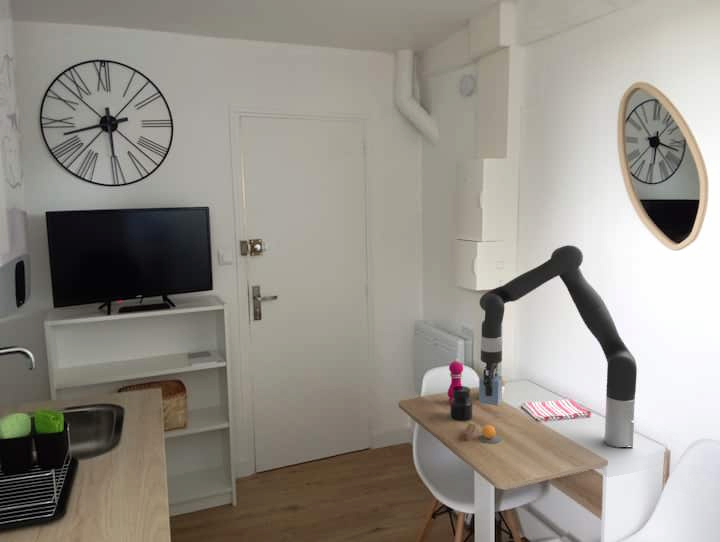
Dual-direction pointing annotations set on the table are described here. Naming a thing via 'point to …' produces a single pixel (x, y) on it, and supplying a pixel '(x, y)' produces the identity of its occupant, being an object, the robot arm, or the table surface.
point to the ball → (488, 431)
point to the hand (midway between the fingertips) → (490, 392)
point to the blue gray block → (496, 391)
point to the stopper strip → (468, 432)
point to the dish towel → (556, 410)
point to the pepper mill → (455, 377)
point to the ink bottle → (461, 404)
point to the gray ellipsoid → (493, 440)
